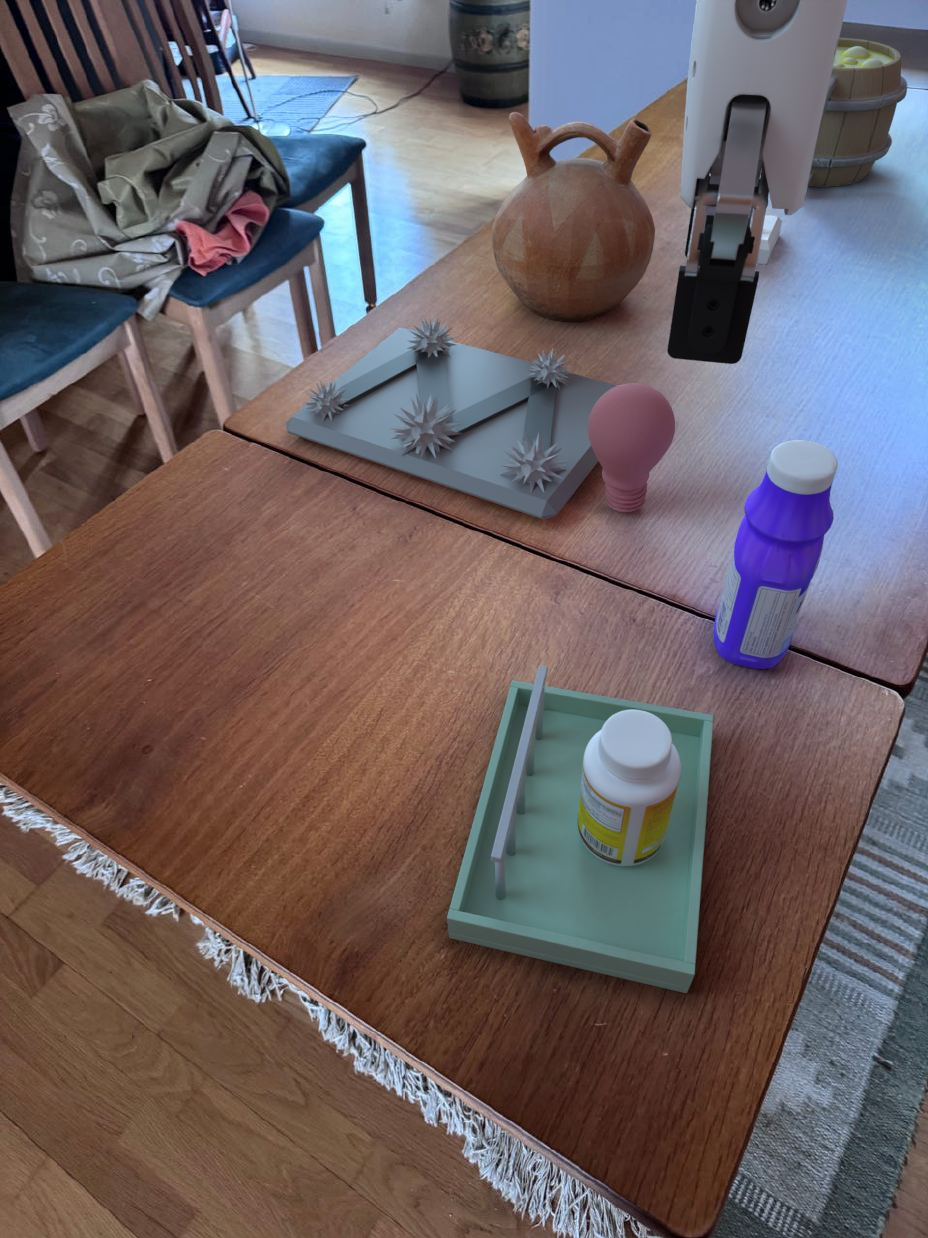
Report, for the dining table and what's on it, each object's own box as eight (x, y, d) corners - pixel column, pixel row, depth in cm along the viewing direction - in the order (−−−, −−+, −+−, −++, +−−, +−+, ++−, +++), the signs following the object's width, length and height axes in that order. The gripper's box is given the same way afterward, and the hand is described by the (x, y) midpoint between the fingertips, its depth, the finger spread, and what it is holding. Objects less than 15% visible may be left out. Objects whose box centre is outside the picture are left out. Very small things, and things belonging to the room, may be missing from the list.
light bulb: (573, 523, 77) (581, 407, 69) (592, 475, 82) (601, 360, 73) (653, 538, 76) (672, 421, 67) (668, 488, 80) (687, 372, 71)
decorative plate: (645, 409, 89) (654, 345, 84) (550, 533, 77) (553, 468, 71) (399, 340, 100) (393, 280, 95) (281, 439, 88) (267, 377, 83)
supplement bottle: (661, 795, 58) (684, 699, 50) (666, 873, 54) (692, 783, 46) (576, 790, 58) (586, 694, 51) (575, 867, 54) (586, 777, 47)
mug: (726, 197, 124) (747, 76, 113) (766, 138, 138) (788, 26, 127) (865, 217, 118) (902, 92, 107) (891, 153, 132) (925, 37, 121)
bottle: (782, 684, 64) (851, 500, 52) (704, 667, 66) (752, 483, 53) (791, 615, 69) (855, 430, 56) (717, 600, 70) (764, 417, 58)
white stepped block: (779, 234, 115) (784, 214, 113) (766, 264, 109) (771, 243, 107) (741, 229, 116) (745, 209, 114) (726, 258, 111) (730, 237, 109)
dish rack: (707, 738, 61) (726, 671, 56) (687, 994, 50) (709, 940, 44) (511, 704, 64) (512, 636, 59) (448, 938, 52) (442, 881, 47)
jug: (473, 327, 101) (468, 141, 87) (514, 258, 113) (515, 83, 98) (632, 346, 97) (654, 154, 83) (657, 273, 109) (680, 93, 94)
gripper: (943, -133, 23) (790, 415, 36) (893, -201, 35) (790, 233, 47) (658, -130, 25) (607, 395, 37) (699, -196, 36) (650, 224, 49)
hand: (709, 304), depth 42 cm, fingers open, 9 cm apart
